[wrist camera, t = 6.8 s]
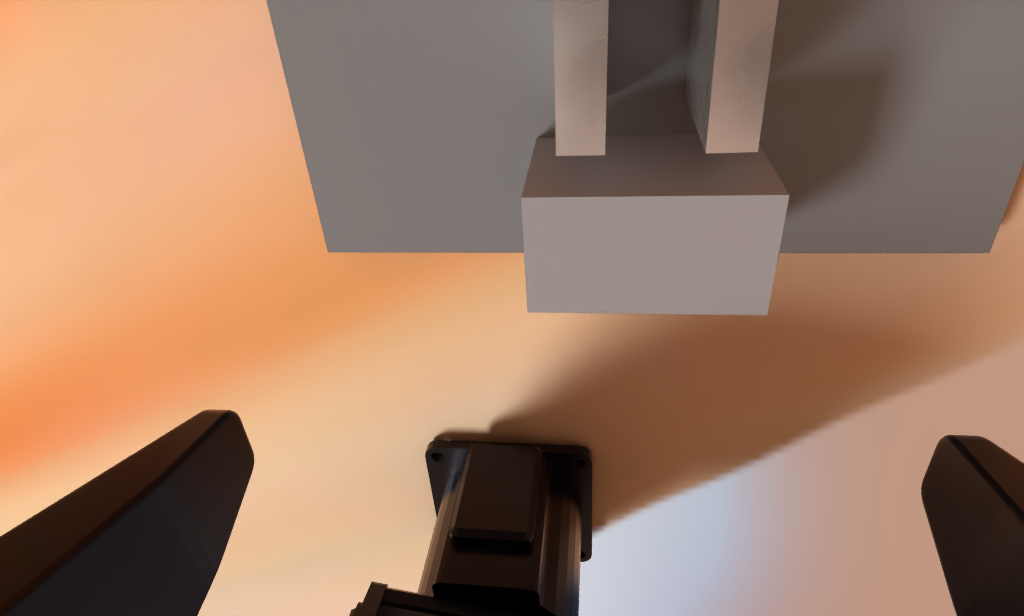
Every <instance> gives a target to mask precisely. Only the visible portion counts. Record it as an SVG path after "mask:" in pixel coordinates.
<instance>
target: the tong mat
mask: <svg viewBox="0 0 1024 616" xmlns="http://www.w3.org/2000/svg"><path fill="white" fill-rule="evenodd" d="M267 4H268V8H269V12H270V16H271V21H272V25H273V29H274V33H275V37H276V41H277V45H278V49H279V53H280V57H281V61H282V66H283V70H284V74H285V78H286V82H287V86H288V90H289V94H290V98H291V102H292V107H293V111H294V115H295V119H296V123H297V127H298V131H299V135H300V139H301V143H302V147H303V152H304V156H305V160H306V164H307V168H308V172H309V176H310V180H311V184H312V188H313V192H314V197H315V201H316V205H317V209H318V213H319V217H320V221H321V225H322V229H323V233H324V238H325V242H326V246H327V250H328V252H457V253H524V258H525V275H526V292H527V309H528V312H546V313H621V314H696V315H768V310H769V304H770V299H771V293H772V288H773V282H774V277H775V271H776V266H777V260H778V255H779V253H989V252H990V250H991V247H992V244H993V242H994V239H995V236H996V234H997V231H998V229H999V226H1000V223H1001V221H1002V218H1003V216H1004V213H1005V210H1006V208H1007V205H1008V202H1009V200H1010V197H1011V195H1012V192H1013V189H1014V187H1015V184H1016V182H1017V179H1018V176H1019V174H1020V171H1021V168H1022V166H1023V163H1024V0H779V3H778V10H777V17H776V24H775V32H774V39H773V46H772V53H771V60H770V68H769V75H768V82H767V89H766V97H765V104H764V111H763V118H762V126H761V133H760V140H759V147H758V152H741V153H705V150H704V148H703V145H702V142H701V140H700V137H699V134H698V132H697V129H696V126H695V124H694V121H693V118H692V116H691V113H690V110H689V108H688V105H687V103H686V100H685V90H686V76H687V62H688V48H689V34H690V20H691V6H692V0H609V7H608V50H607V93H606V136H605V155H588V156H556V130H555V78H554V26H553V0H267Z"/></svg>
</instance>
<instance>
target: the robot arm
mask: <svg viewBox="0 0 1024 616" xmlns="http://www.w3.org/2000/svg"><path fill="white" fill-rule="evenodd" d="M436 452H439V453H441V454H438V453H436ZM425 457H426V463H427V468H428V473H429V479H430V484H431V489H432V495H433V500H434V505H435V510H436V516H437V520H436V524H435V528H434V532H433V535H432V539H431V543H430V547H429V551H428V554H427V558H426V562H425V566H424V570H423V574H422V577H421V581H420V585H419V589H418V593H414V592H408V591H403V590H398V589H393V588H388V585H387V584H382V583H377V582H371V585H370V587H369V589H368V591H367V594H366V596H365V598H364V601H363V603H361V602H359V603H358V604H357V607H356V608H355V609H353V610H351V613H350V615H349V616H578V610H579V582H580V562H585V561H587V560H589V559H590V558H591V556H592V452H591V451H590V450H589V449H587V448H586V447H582V446H567V445H543V444H518V443H493V442H469V441H444V440H436V441H432V442H430V443H429V445H428V447H427V450H426V454H425ZM577 458H580V459H583V460H577ZM253 466H254V454H253V450H252V447H251V445H250V442H249V440H248V437H247V435H246V432H245V429H244V427H243V424H242V422H241V419H240V417H239V415H238V414H237V413H236V412H234V411H231V410H205V411H202V412H200V413H199V414H197V415H195V416H194V417H192V418H191V419H189V420H187V421H186V422H184V423H182V424H181V425H179V426H178V427H176V428H174V429H173V430H171V431H170V432H168V433H166V434H165V435H163V436H162V437H160V438H158V439H157V440H155V441H154V442H152V443H150V444H149V445H147V446H145V447H144V448H142V449H141V450H139V451H137V452H136V453H134V454H133V455H131V456H129V457H128V458H126V459H125V460H123V461H121V462H120V463H118V464H116V465H115V466H113V467H112V468H110V469H108V470H107V471H105V472H104V473H102V474H100V475H99V476H97V477H95V478H94V479H92V480H91V481H89V482H87V483H86V484H84V485H83V486H81V487H79V488H78V489H76V490H75V491H73V492H71V493H70V494H68V495H66V496H65V497H63V498H62V499H60V500H58V501H57V502H55V503H54V504H52V505H50V506H49V507H47V508H46V509H44V510H42V511H41V512H39V513H37V514H36V515H34V516H33V517H31V518H29V519H28V520H26V521H25V522H23V523H21V524H20V525H18V526H17V527H15V528H13V529H12V530H10V531H8V532H7V533H5V534H4V535H2V536H0V616H197V615H198V613H199V610H200V608H201V606H202V604H203V602H204V600H205V598H206V595H207V593H208V591H209V589H210V587H211V584H212V582H213V580H214V578H215V575H216V573H217V571H218V568H219V565H220V563H221V560H222V557H223V555H224V552H225V549H226V546H227V543H228V540H229V537H230V535H231V532H232V529H233V526H234V523H235V520H236V517H237V514H238V511H239V509H240V506H241V503H242V500H243V497H244V494H245V491H246V488H247V485H248V483H249V480H250V477H251V474H252V471H253ZM921 495H922V500H923V504H924V508H925V512H926V515H927V518H928V522H929V525H930V528H931V532H932V535H933V538H934V541H935V545H936V549H937V552H938V555H939V558H940V562H941V565H942V569H943V572H944V575H945V579H946V582H947V586H948V589H949V592H950V596H951V599H952V602H953V605H954V608H955V611H956V614H957V616H1024V463H1023V462H1021V461H1019V460H1018V459H1017V458H1015V457H1014V456H1012V455H1011V454H1009V453H1008V452H1006V451H1005V450H1003V449H1002V448H1000V447H999V446H997V445H996V444H994V443H993V442H991V441H989V440H988V439H986V438H984V437H980V436H965V435H947V436H944V437H943V438H942V439H941V440H940V441H939V443H938V444H937V446H936V449H935V451H934V454H933V456H932V459H931V461H930V464H929V466H928V469H927V471H926V474H925V476H924V479H923V482H922V487H921Z"/></svg>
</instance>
